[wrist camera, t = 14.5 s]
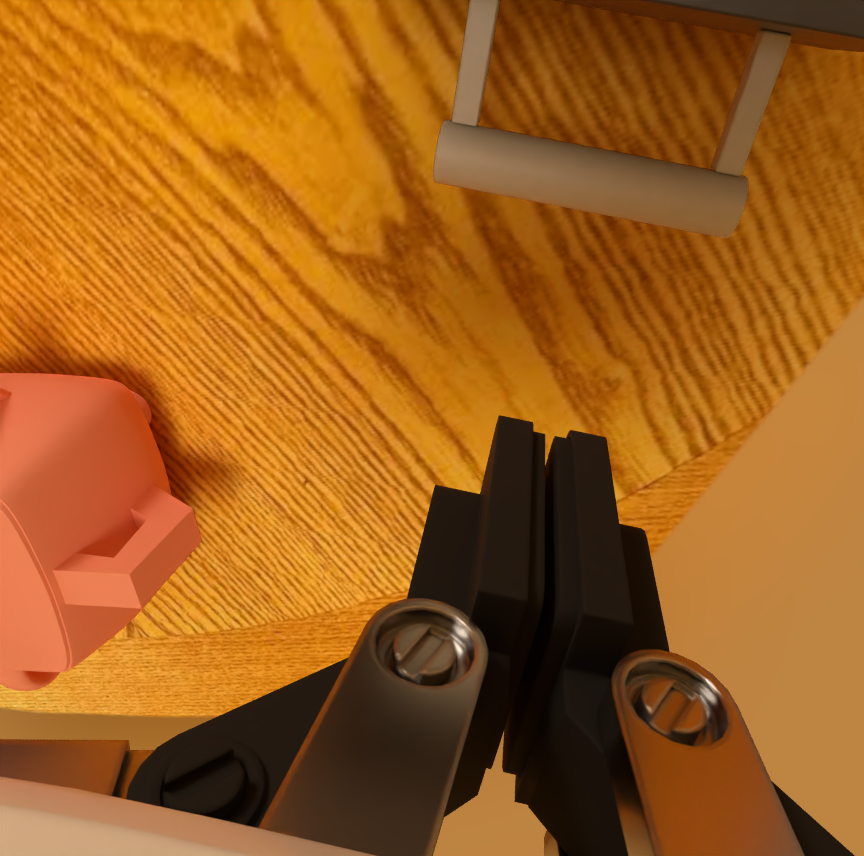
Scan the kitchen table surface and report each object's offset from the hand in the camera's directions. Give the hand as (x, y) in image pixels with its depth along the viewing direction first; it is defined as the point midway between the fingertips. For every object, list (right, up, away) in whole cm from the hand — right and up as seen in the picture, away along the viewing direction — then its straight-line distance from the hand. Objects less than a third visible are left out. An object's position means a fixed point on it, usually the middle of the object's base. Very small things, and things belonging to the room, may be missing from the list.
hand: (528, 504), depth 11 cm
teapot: (-17, +1, +19) cm, 26 cm away
